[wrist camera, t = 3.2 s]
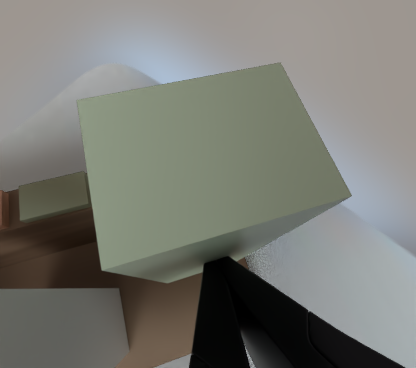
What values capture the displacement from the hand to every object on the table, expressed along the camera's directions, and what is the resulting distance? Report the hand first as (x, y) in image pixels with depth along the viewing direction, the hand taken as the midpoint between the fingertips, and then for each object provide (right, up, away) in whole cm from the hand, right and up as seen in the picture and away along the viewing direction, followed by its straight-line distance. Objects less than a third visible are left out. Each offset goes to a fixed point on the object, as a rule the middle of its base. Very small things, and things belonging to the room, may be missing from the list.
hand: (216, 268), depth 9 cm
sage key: (-1, -1, +6) cm, 6 cm away
